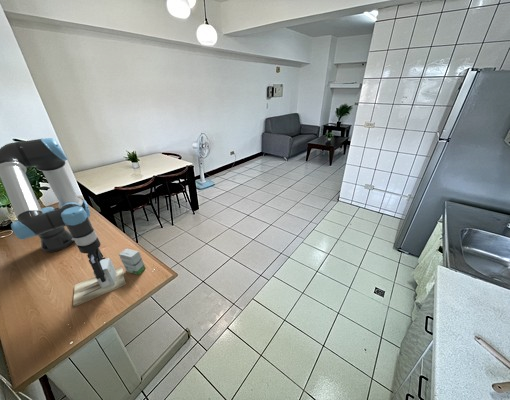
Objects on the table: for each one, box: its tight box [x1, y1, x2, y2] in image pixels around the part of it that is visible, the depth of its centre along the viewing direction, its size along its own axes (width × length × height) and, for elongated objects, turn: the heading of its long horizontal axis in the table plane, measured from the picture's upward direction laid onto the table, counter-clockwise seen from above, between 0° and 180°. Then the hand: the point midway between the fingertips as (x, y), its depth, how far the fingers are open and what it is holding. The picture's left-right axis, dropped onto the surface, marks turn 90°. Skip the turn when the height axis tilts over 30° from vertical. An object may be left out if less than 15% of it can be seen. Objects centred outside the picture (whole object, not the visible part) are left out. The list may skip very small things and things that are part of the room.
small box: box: [93, 257, 117, 288], centre depth 100 cm, size 8×6×10 cm
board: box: [72, 266, 126, 308], centre depth 102 cm, size 13×20×1 cm, turn 124°
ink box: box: [118, 248, 146, 276], centre depth 107 cm, size 9×5×12 cm, turn 71°
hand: (106, 278), depth 102 cm, fingers open, 9 cm apart
